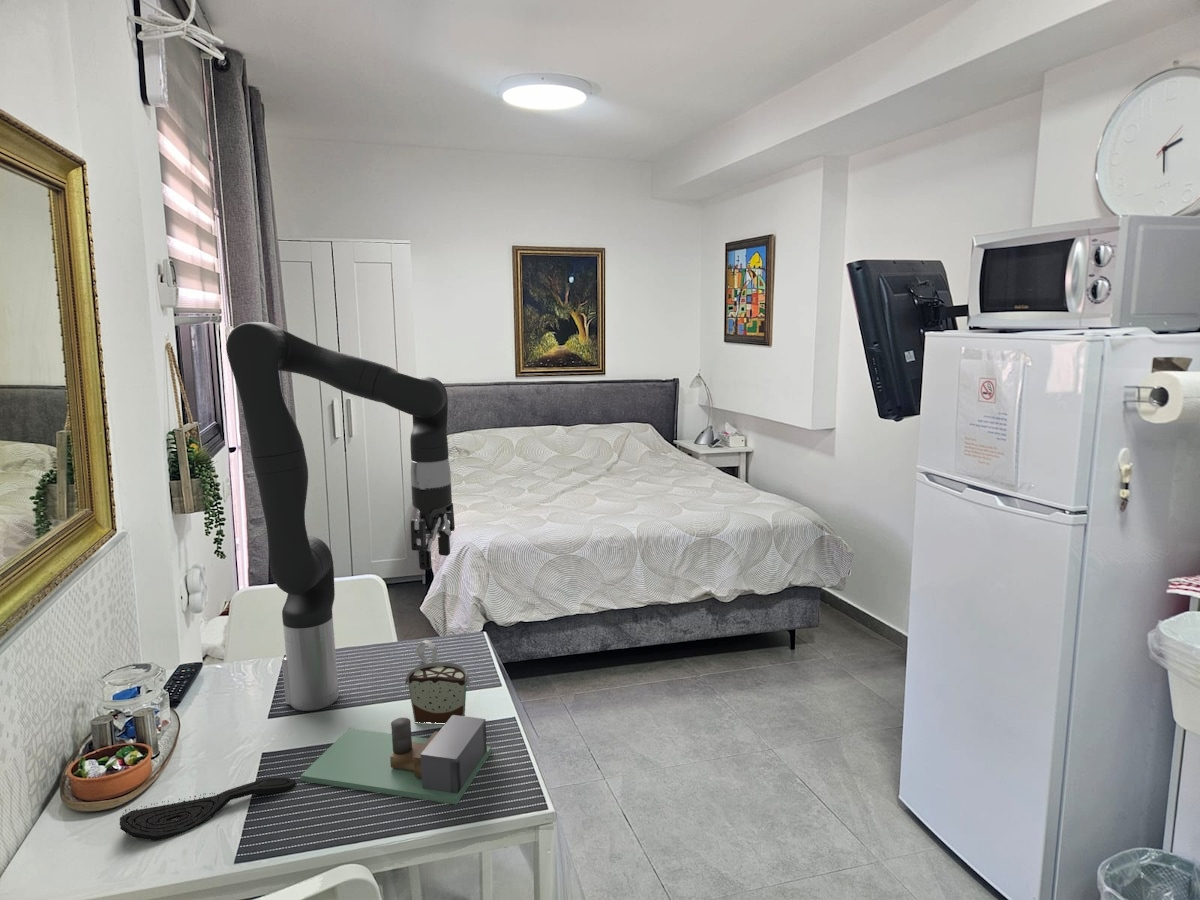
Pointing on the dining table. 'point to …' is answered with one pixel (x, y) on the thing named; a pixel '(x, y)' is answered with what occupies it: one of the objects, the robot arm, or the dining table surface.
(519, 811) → the dining table surface
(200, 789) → the dining table surface
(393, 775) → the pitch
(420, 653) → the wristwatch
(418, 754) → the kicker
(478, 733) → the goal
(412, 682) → the food container
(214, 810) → the hairbrush
